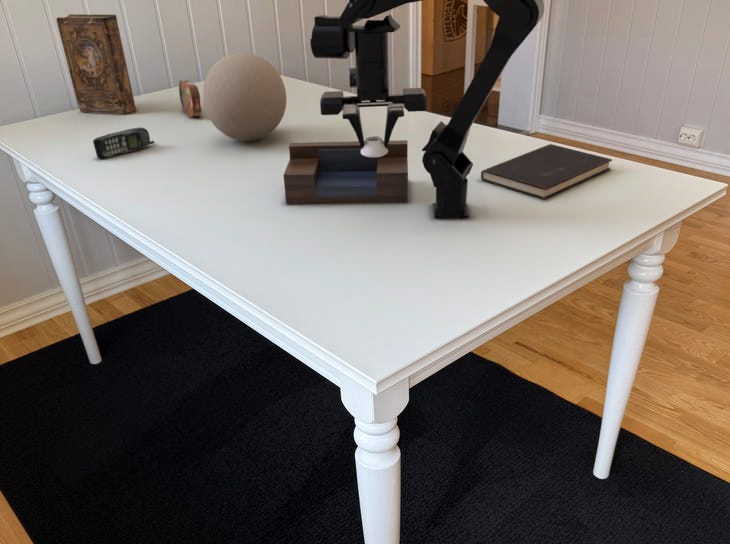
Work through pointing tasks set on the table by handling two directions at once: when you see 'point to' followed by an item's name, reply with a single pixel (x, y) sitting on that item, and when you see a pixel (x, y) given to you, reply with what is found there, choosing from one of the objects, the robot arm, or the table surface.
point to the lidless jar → (374, 147)
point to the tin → (190, 98)
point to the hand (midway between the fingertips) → (374, 149)
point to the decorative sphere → (244, 96)
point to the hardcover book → (546, 171)
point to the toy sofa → (345, 174)
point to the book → (97, 63)
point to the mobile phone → (121, 142)
